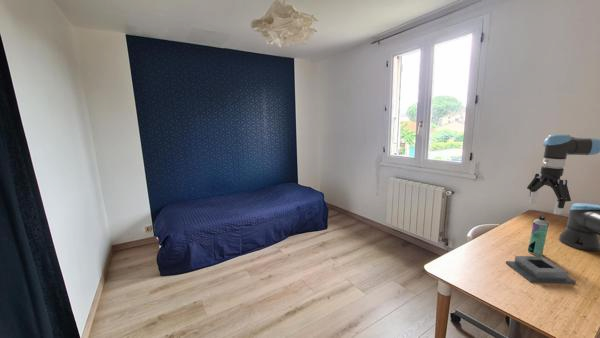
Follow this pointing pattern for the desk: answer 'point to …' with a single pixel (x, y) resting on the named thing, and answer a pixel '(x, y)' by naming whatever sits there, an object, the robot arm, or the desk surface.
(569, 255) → the desk surface
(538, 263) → the collar
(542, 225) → the spray can
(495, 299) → the desk surface
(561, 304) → the desk surface
